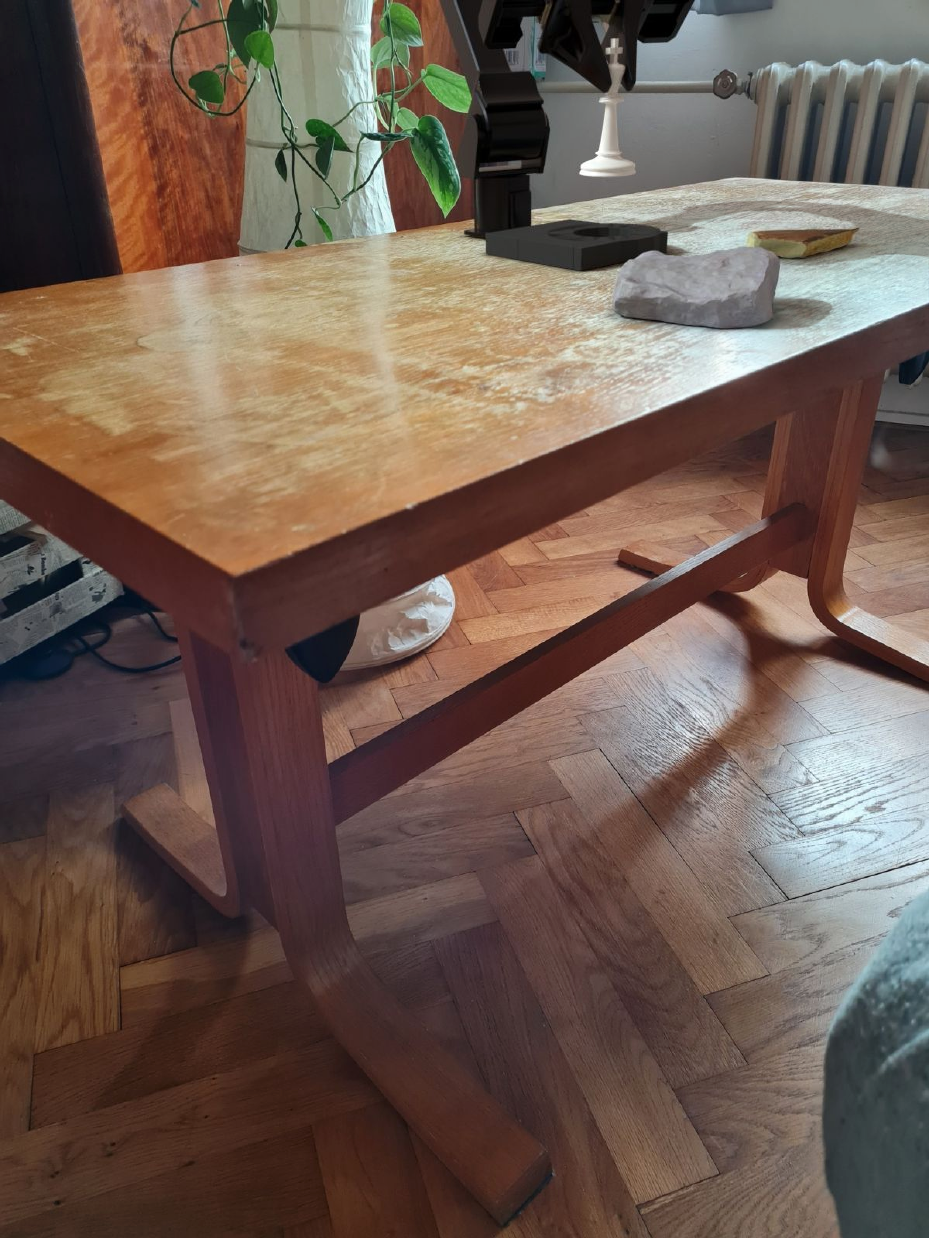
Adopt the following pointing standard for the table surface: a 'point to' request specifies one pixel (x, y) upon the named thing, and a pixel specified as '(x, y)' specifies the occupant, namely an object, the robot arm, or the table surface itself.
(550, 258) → the socket pad
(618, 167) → the chess piece
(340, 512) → the table surface
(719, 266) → the stone block
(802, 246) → the yellow brown flat wedge
